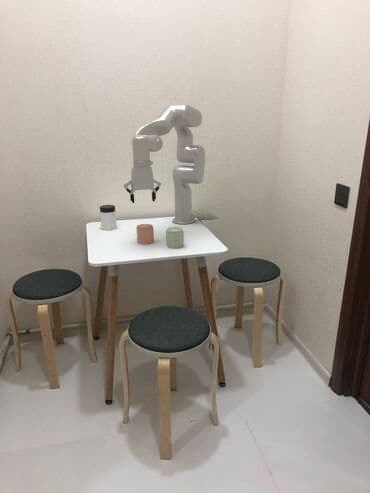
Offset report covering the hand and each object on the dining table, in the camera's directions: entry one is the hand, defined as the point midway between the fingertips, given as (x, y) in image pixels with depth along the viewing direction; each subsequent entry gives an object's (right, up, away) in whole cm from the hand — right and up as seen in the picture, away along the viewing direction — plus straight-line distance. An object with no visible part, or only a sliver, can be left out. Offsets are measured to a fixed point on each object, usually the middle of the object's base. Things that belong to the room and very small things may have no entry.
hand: (143, 201), depth 183 cm
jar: (-22, -11, +31) cm, 39 cm away
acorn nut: (+15, -20, +1) cm, 25 cm away
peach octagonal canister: (0, -19, +6) cm, 20 cm away
